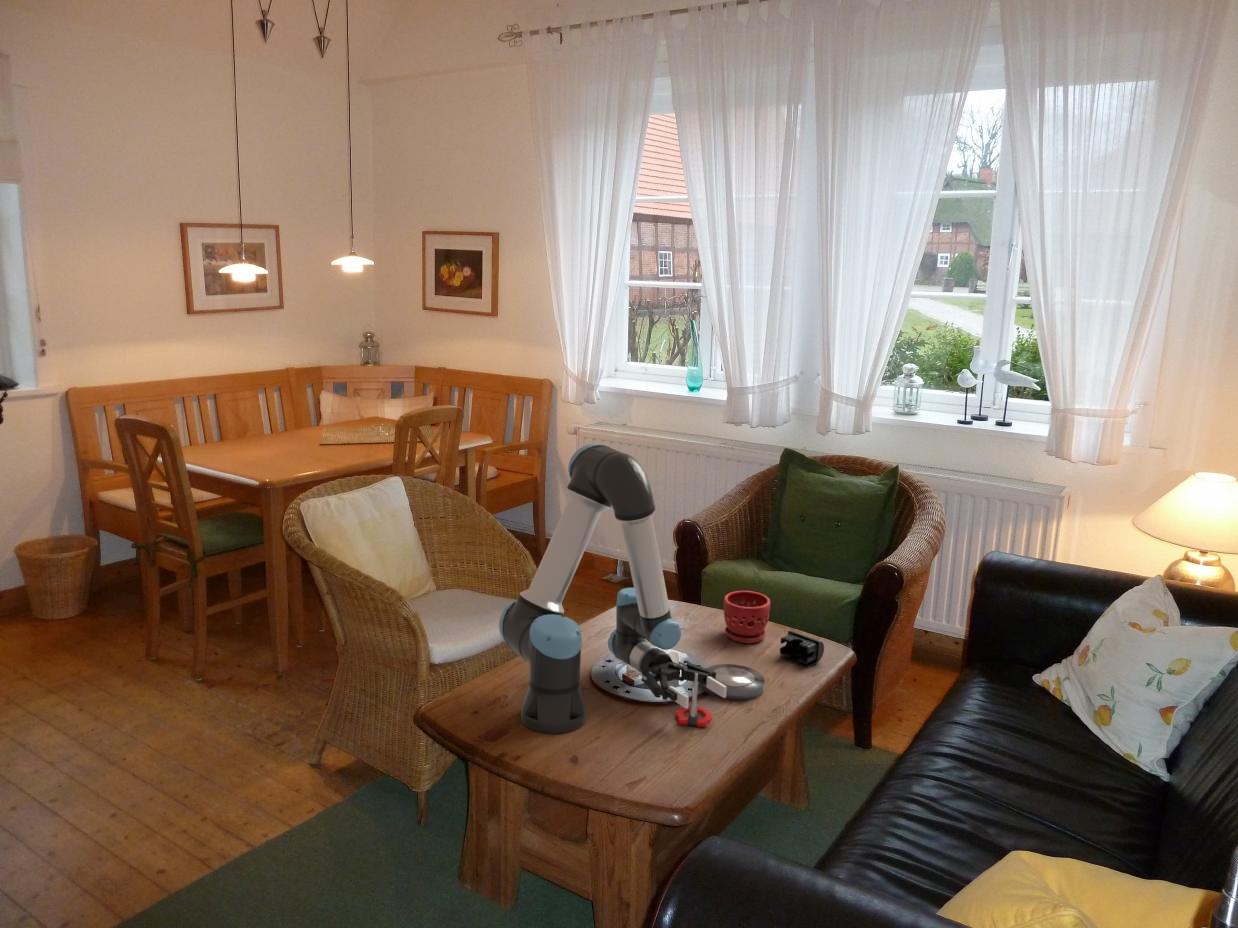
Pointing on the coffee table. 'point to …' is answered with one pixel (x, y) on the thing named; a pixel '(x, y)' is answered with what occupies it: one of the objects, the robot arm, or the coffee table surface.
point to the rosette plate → (737, 682)
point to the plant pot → (746, 616)
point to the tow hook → (694, 710)
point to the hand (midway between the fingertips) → (706, 697)
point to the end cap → (801, 649)
